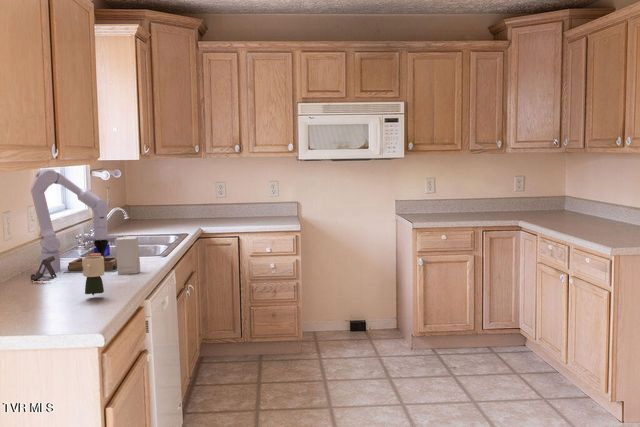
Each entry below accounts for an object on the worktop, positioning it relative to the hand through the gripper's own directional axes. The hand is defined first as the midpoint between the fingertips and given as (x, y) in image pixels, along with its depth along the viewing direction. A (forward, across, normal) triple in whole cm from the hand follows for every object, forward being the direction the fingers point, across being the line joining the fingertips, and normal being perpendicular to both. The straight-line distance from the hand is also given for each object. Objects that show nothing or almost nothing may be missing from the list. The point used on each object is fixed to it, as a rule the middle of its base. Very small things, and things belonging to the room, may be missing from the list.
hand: (101, 257), depth 273 cm
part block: (+2, 0, +9) cm, 9 cm away
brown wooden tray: (+4, 0, +9) cm, 10 cm away
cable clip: (+4, +7, -22) cm, 24 cm away
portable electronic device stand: (+4, +14, +28) cm, 32 cm away
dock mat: (+4, 0, +9) cm, 10 cm away
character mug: (+4, -16, +61) cm, 64 cm away
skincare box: (+4, -17, +20) cm, 27 cm away
